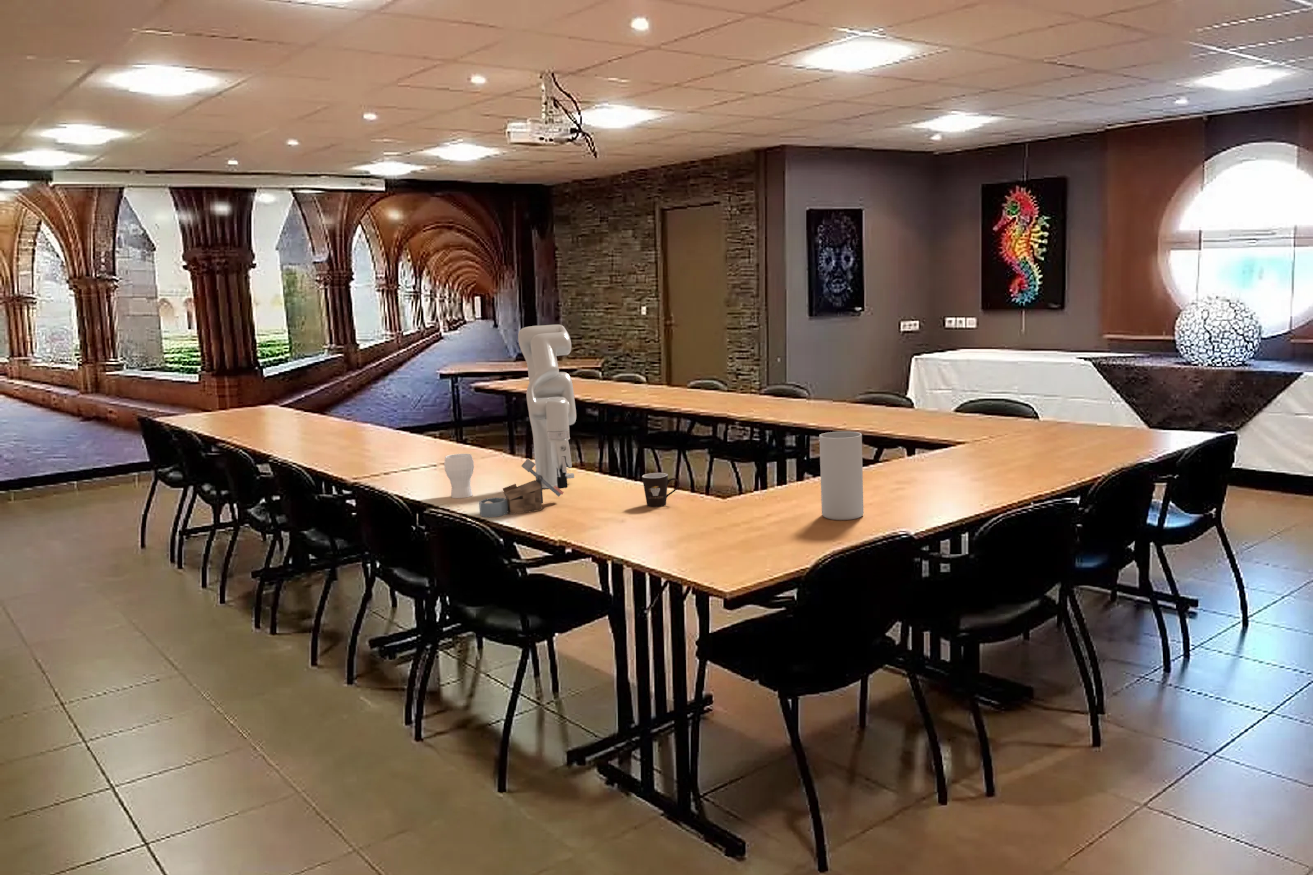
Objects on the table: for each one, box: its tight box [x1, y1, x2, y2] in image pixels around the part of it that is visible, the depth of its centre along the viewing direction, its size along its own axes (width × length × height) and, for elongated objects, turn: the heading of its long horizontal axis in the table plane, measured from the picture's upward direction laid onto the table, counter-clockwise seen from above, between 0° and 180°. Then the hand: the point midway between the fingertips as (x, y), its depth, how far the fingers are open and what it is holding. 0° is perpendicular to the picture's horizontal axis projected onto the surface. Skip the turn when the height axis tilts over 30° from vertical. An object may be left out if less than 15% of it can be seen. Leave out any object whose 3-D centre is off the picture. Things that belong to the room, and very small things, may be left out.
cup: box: [443, 453, 475, 499], centre depth 360 cm, size 11×11×15 cm
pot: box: [478, 497, 509, 518], centre depth 329 cm, size 9×9×4 cm
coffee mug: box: [641, 472, 681, 508], centre depth 328 cm, size 12×9×10 cm
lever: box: [521, 458, 564, 497], centre depth 336 cm, size 17×11×3 cm
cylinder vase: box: [818, 431, 864, 521], centre depth 298 cm, size 12×12×25 cm
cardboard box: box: [502, 478, 544, 515], centre depth 334 cm, size 14×12×10 cm
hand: (562, 487), depth 341 cm, fingers closed
